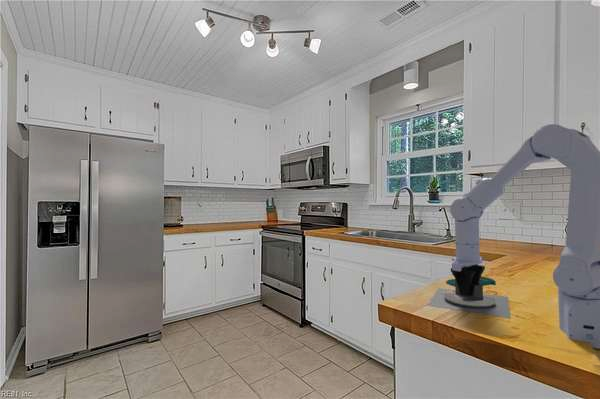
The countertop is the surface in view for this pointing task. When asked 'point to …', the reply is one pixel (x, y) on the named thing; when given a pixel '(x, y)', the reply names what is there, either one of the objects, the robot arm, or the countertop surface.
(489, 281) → the digital multimeter
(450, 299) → the dial
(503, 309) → the dial panel
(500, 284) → the countertop surface
